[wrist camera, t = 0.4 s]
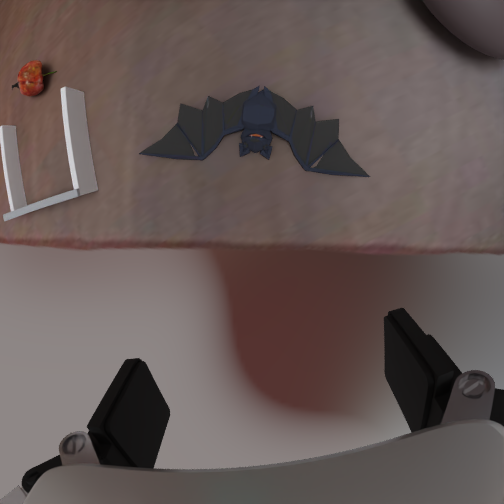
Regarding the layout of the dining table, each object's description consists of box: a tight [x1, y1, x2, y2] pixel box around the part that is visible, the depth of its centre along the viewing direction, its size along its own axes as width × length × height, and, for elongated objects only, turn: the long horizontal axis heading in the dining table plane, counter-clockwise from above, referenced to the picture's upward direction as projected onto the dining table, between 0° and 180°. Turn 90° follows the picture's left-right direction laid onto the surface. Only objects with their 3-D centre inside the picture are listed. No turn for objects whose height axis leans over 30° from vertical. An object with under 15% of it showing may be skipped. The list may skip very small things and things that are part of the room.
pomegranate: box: [12, 60, 57, 96], centre depth 32 cm, size 6×6×8 cm
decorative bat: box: [139, 86, 370, 177], centre depth 35 cm, size 30×4×10 cm
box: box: [0, 87, 98, 221], centre depth 35 cm, size 15×16×6 cm
